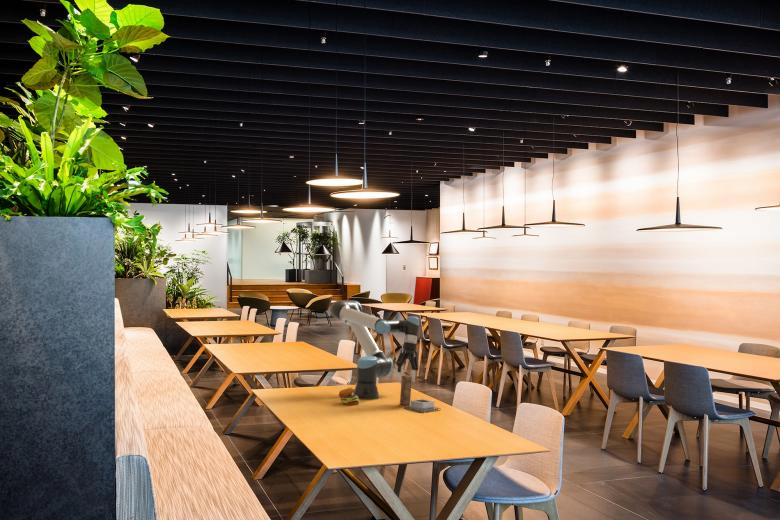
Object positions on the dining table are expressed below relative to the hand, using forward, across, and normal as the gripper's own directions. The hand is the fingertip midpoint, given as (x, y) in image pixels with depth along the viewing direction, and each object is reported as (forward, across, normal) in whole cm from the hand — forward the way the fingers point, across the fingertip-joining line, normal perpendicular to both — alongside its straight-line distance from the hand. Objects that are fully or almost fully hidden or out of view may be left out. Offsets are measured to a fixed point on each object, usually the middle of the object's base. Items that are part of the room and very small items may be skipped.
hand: (405, 379), depth 382 cm
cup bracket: (+16, -8, -18) cm, 26 cm away
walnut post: (+14, -5, -5) cm, 16 cm away
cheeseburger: (+18, -26, +18) cm, 36 cm away
